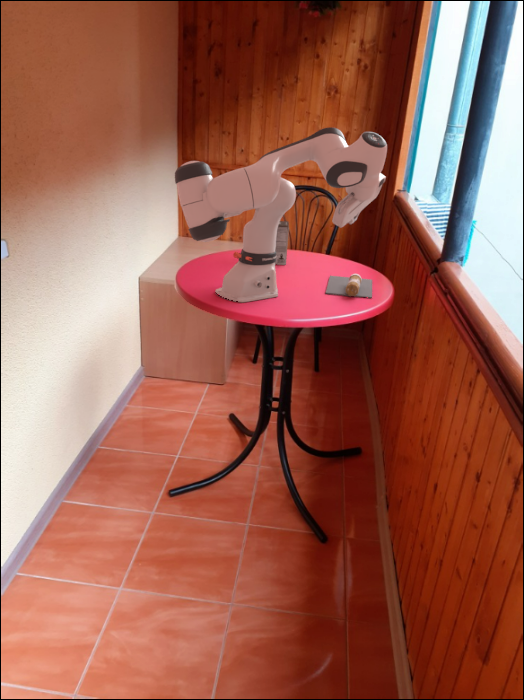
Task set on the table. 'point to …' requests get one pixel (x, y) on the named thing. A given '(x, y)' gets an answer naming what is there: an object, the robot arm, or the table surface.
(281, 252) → the coffee box
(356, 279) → the sprinkles bottle
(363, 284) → the mat
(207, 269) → the table surface
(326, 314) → the table surface
